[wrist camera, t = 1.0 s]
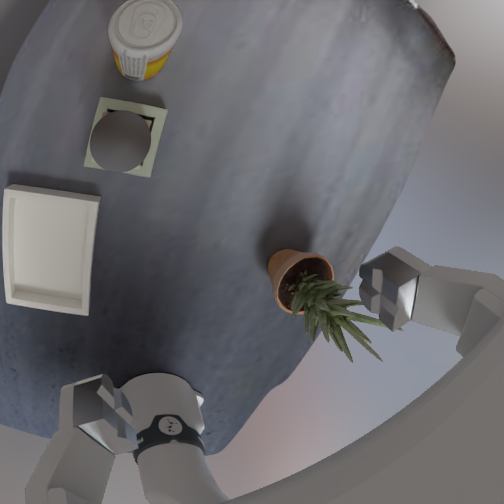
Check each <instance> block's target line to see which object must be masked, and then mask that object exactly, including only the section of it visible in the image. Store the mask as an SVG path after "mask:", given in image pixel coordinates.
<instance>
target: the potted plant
mask: <svg viewBox="0 0 504 504" xmlns="http://www.w3.org/2000/svg"><path fill="white" fill-rule="evenodd" d="M268 272H269V277H270V280H271V282H272V286H273V291H272V292H273V296H274V298H275V300H276V302H277V303H278V305H279V306H280V307H281V308H282V309H283V310H285V311H286V312H288V313H291V314H292V316H293V318H294V317H295V316H296V314H303V313H304V316H305V331H306V333H308V326H309V318H310V332H311V340H312V341H313V342H314V338H315V334H316V330H317V327H318V325H319V322H320V325H321V328H322V331H323V334H324V337H325V339H326V340H327V341H328V342H329V335H328V333H329V334H330V336H331V337H332V339H333V341H334V342H335V344H336V346H337V347H338V348H339V350H340V351H344V353H345V354H346V356H347V357H348V358H349V360H350V361H351V362H352V363H353V360H352V357H351V354H350V351H349V349H348V347H347V344H346V341H345V338H344V336H343V333H342V330H341V327H340V325H341V326H342V327H343V328H344V329H345V330H347V331H348V332H349V333H350V334H351V335H352V336H353V337H354V338H355V339H356V340H357V341H358V342H359V343H360V344H362V345H363V346H364V347H365V348H366V349H367V350H368V351H369V352H370V353H371V354H373V355H374V356H375V357H376V358H378V359H379V360H381V358H380V357H379V356H378V355H377V353H376V352H375V351H374V350H373V349H372V348H371V347H370V346H369V345H368V344H367V343H366V342H365V341H364V340H366V341H367V342H369V343H371V341H370V340H369V339H368V337H367V336H366V335H364V333H363V332H362V331H360V329H359V328H358V327H357V326H355V325H354V324H353V323H352V322H351V321H350V320H353V321H359V322H364V323H368V324H373V325H377V326H383V327H387V326H386V325H384V324H383V323H382V322H381V321H380V320H379V319H376V318H372V317H369V316H365V315H361V314H358V313H354V312H350V311H348V310H346V308H347V307H349V306H355V305H364V304H363V303H362V301H358V300H346V299H337V298H333V297H336V296H339V295H341V293H338V292H337V291H338V290H344V289H351V288H352V287H348V286H341V285H340V284H338V283H337V282H336V280H334V273H333V268H332V266H331V264H330V262H329V261H328V260H327V259H326V258H324V257H322V256H321V255H319V254H317V253H313V252H305V253H304V252H300V251H295V250H291V249H284V250H280V251H278V252H276V253H275V254H274V255H273V256H272V257H271V258H270V260H269V263H268ZM387 328H388V327H387ZM397 330H401V331H403V329H401V328H398V329H397ZM363 339H364V340H363ZM342 349H343V350H342ZM381 361H382V360H381ZM382 362H383V361H382Z"/></svg>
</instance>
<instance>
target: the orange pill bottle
mask: <svg viewBox="0 0 504 504" xmlns="http://www.w3.org/2000/svg"><path fill="white" fill-rule="evenodd" d="M182 27H183V18H182V14H181V12H180V10H179V8H178V7H177V6H176V5H175V4H174V3H173V2H172V1H171V0H128V1H126V2H125V3H124V4H122V5H121V6H120V7H119V8H118V9H117V10H116V11H115V12H114V14H113V15H112V17H111V19H110V22H109V26H108V35H109V40H110V43H111V47H112V50H113V54H114V57H115V61H116V64H117V67H118V70H119V71H120V73H121V74H122V75H123V76H124V77H126V78H128V79H130V80H135V81H141V80H146V79H149V78H151V77H153V76H155V75H156V74H157V73H158V72H159V71H160V70H161V69H162V67H163V66H164V64H165V62H166V60H167V58H168V56H169V54H170V52H171V50H172V49H173V47H174V45H175V43H176V41H177V39H178V38H179V36H180V34H181V31H182Z"/></svg>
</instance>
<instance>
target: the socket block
mask: <svg viewBox="0 0 504 504" xmlns="http://www.w3.org/2000/svg"><path fill="white" fill-rule="evenodd" d="M109 110H114V111H120V110H125V111H131V112H134V113H136V114H138V115H141V116H146V117H151V118H154V119H153V123H152V126H151V130H150V133H151V146H150V149H149V152H148V154H147V156H146V158H145V159H144V160H143V162H142V163H141V164H140V168H139V170H136V169H132V170H130V171H127V172H122V173H126V174H132V175H137V176H143V177H148V178H150V176H151V172H152V168H153V164H154V160H155V156H156V152H157V148H158V144H159V140H160V137H161V133H162V130H163V126H164V123H165V119H166V116H167V112H168V110H167V109H162V108H158V107H153V106H149V105H144V104H139V103H134V102H128V101H123V100H117V99H112V98H105V97H100V100H99V103H98V107H97V110H96V114H95V118H94V122H93V126H92V130H91V133H92V131H93V129H94V127H95V125H96V124H97V123H98V121H99V120H100V119H101V118H102V114H103V112H107V113H109ZM90 137H91V134H90ZM91 161H92V154H91V151H90V138H89V143H88V147H87V152H86V157H85V162H84V167H90V168H96V169H102V170H105V169H103V168H101V167H100V166H99V165H98V164H97V163H95V162H91Z"/></svg>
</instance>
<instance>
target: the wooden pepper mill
mask: <svg viewBox="0 0 504 504" xmlns="http://www.w3.org/2000/svg"><path fill="white" fill-rule="evenodd" d="M151 122H152V121H150V120H145V119H143V118H142V117H141V116H139V115H138V114H136V113H134V112H131V111H125V110H120V111H115V112H112V113H107V112H103V114H102V118H101V119H100V120H99V121H98V123H97V124H96V125H95V127H94V129H93V131H92V133H91V137H90V151H91V154H92V161H91V162H95V163H97V164H98V165H99V166H100V167H101V168H103V169H105V170H107V171H109V172H114V173H122V172H127V171H130V170H132V169H136V170H139V168H140V164H141V163H142V162H143V160H144V159H145V158H146V156H147V154H148V152H149V149H150V146H151V133H150V125H151Z"/></svg>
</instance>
